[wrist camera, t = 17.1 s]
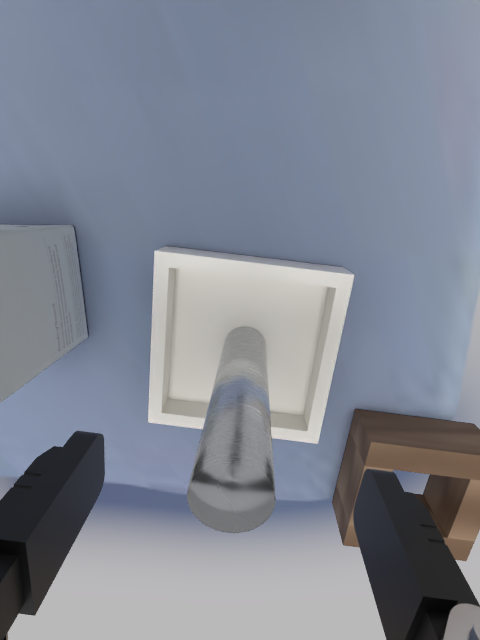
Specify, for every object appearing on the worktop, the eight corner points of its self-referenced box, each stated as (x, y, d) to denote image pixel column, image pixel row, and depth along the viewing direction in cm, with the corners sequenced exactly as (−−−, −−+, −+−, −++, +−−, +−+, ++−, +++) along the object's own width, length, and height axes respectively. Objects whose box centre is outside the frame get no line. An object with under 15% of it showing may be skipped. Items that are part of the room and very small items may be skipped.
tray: (166, 245, 21) (154, 250, 18) (343, 267, 21) (354, 275, 18) (158, 401, 24) (147, 422, 22) (311, 420, 24) (318, 443, 22)
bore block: (355, 408, 24) (371, 441, 20) (473, 423, 24) (509, 459, 20) (332, 502, 26) (343, 545, 23) (439, 515, 26) (466, 561, 23)
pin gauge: (226, 323, 21) (190, 456, 10) (268, 328, 21) (281, 468, 10) (222, 362, 22) (184, 526, 11) (262, 367, 22) (268, 538, 11)
